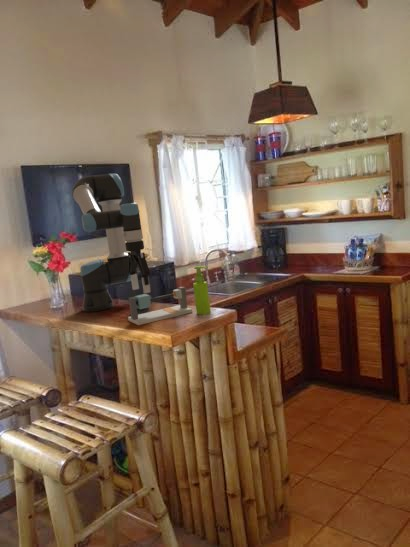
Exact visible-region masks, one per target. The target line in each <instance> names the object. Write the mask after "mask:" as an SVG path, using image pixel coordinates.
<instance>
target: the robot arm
mask: <svg viewBox="0 0 410 547" xmlns="http://www.w3.org/2000/svg"><path fill="white" fill-rule="evenodd" d="M71 192H72V193H71V194H72V198H73V200H74V201H75V202H76V203H77V204H78V206H79V208H80V210H81V212H82V215H81V225H82V229H83V231H84V232H87V233H88V232H97V231H103V230H105V233H106V239H107V240H106V241H107V247H108V253H109V254H108V256H107V258H106V259H107V261H105V260H104V259H98V260H97V259H96V260H92V261H89V262H87V263H83V264H82V265H81V266H80V277H81V283H82V289H83V301H82V311H83V312H87V313H88V312H89V313H91V312H99V311H100V310H101V311H105V310H108V309H109V310H110V309H111V308H113V307H115V305H114V304H115V303H114V300H113V298H112V296H111V294H110V293H109V288H108V286H110V285H111V286H112V285H118V284H123V283H125V284H126V283H128V282H131V288H132V291H135V290H139V289H140V286H139V285H140V284H139V280H138V278H139V277H138V272H137V268H138V270H139V272H140V274H141V275H140V278H141V283H142V292H144V293H149V294H150V293H151V288H150V285H151V284H150V278H149V276H151V272H150V268H149V265H148V262H147V259H146V255H145V252H142V251H141V250H144V249H145V244H144V240H143V239H144V235H143V229H142V224H141V216H140V210H139V205H138V203H137V202H131V203H123V204H121V202H122V200H123V197H124V196H125V188H124V184H123V181H122V179H121V177H120V175H119V174H117V173H105V174H103V173H102V174H94V175H86V176H82V177H81V178H80V179H79V180H77V181H76V182H75V184H74V186H73V187H72V191H71ZM120 204H121V205H120ZM99 205H100V206H101V208H100V206H99ZM101 209H102V210H101Z"/></svg>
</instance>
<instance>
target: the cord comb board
mask: <svg viewBox="0 0 410 547" xmlns="http://www.w3.org/2000/svg"><path fill="white" fill-rule="evenodd" d="M172 297H173V299H175V300H179V305H174V306H170V307H165V308H161V309H156V310H153V311H149V312H146V313H141V314H138V313H137V306H136V304H138V301H136V299H135V298H134V296H132V297H131V296H130V297H128V298H127V299H128V305H129V310H130V311H129V312H130V316H128V317H127V321H129V322H130V323H133V324H135V325H137V326H141V325H145V324H150V323H153V322H158V321H161V320H165V319H170V318H175V317H178V316H182V315H186V314H191V313H193V309H192V308H191V307H188V303H187V295H186V287H185V286H179V287H177V288H176V289H172V293H169V294H165V295H159V296H155V297H152V298H150V301H152V302H153V301H159V300H162V299H163V300H164V299H168V298H172Z"/></svg>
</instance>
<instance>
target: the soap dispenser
mask: <svg viewBox="0 0 410 547" xmlns="http://www.w3.org/2000/svg"><path fill="white" fill-rule="evenodd" d="M207 268H208V266H206V265H205V266H204V265H198V266H195V267H194V269H195V270H196V274H195V275H194V276H195V282H193V284H192V286H193V293H194V300H195V302H194V303H195V310H196V315H198V314H205V315H208V314H207V313H209V314H211V313H212V311H211V304H210V302H211V301H210V297H209V296H210V295H209V288H208V281H205V278H204V274H203V273H202V272H201V271H202V270H201V269H207ZM194 269H193V270H194ZM210 312H211V313H210Z"/></svg>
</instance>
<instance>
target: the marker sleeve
mask: <svg viewBox="0 0 410 547" xmlns="http://www.w3.org/2000/svg"><path fill="white" fill-rule="evenodd" d="M133 297H134V298H135V299H136V301H138V304H136V306H137V308H138V309H144V308H149V309H150V308H152V302H150V294H149V295H147V294H143V293H142V294H138V295H135V296H133Z"/></svg>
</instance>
